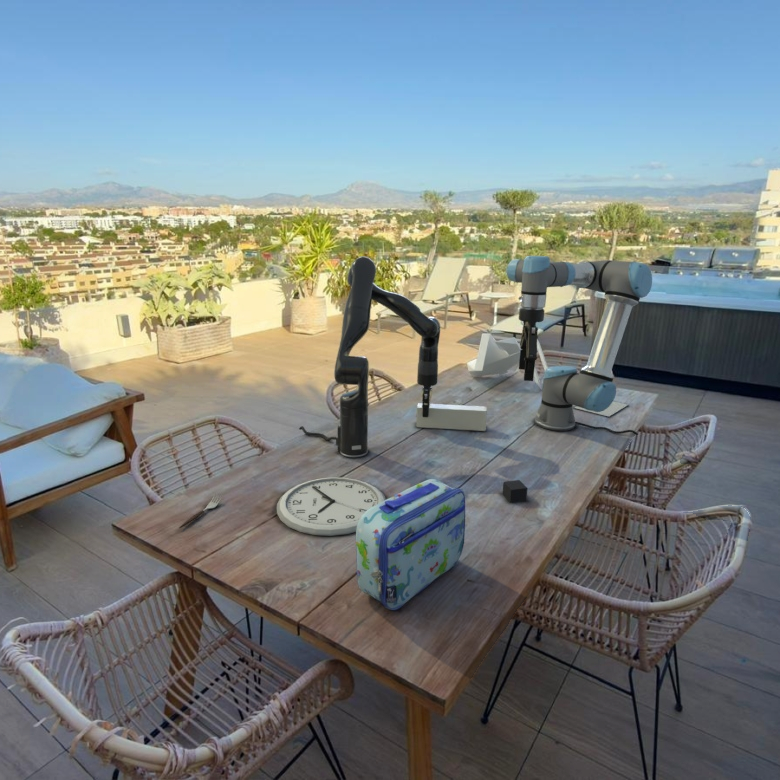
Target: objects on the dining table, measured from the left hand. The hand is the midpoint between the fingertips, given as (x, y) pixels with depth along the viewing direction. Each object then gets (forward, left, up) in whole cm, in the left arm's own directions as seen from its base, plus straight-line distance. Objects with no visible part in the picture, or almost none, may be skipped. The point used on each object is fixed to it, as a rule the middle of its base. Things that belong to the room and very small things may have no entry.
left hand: (425, 414), depth 200 cm
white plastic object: (+7, +73, -5) cm, 74 cm away
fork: (-20, -90, -5) cm, 92 cm away
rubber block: (+47, -36, -5) cm, 59 cm away
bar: (+9, +4, -4) cm, 11 cm away
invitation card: (+54, +62, -5) cm, 82 cm away
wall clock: (+6, -67, -5) cm, 68 cm away
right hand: (+39, -9, +24) cm, 47 cm away
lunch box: (+40, -84, -5) cm, 93 cm away
